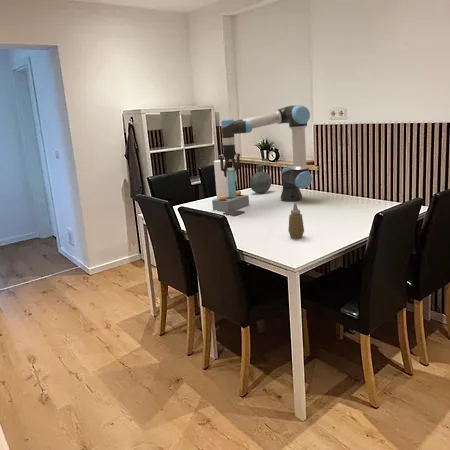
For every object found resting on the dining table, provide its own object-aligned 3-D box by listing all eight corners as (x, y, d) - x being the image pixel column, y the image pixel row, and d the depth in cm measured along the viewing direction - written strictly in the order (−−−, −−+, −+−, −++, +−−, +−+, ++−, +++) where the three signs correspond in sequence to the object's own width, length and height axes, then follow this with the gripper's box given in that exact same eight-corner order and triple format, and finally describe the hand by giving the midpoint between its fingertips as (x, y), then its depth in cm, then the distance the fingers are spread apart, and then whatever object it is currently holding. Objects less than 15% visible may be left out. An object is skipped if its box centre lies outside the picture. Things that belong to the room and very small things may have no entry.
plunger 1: (228, 208, 298) (227, 195, 296) (223, 210, 295) (222, 196, 292) (223, 207, 301) (222, 194, 299) (218, 209, 298) (217, 196, 295)
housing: (249, 205, 307) (248, 195, 305) (228, 212, 291) (227, 202, 290) (234, 203, 316) (233, 193, 314) (212, 210, 301) (212, 200, 299)
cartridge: (234, 194, 287) (233, 167, 282) (237, 196, 282) (235, 168, 277) (227, 195, 285) (225, 168, 281) (229, 197, 280) (227, 169, 276)
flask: (250, 192, 349) (248, 165, 343) (271, 191, 349) (270, 163, 343) (251, 195, 338) (249, 167, 332) (273, 193, 337) (271, 165, 332)
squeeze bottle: (287, 235, 231) (285, 202, 226) (302, 234, 232) (301, 201, 227) (290, 240, 223) (289, 205, 219) (306, 238, 224) (305, 204, 219)
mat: (244, 212, 287) (244, 211, 287) (234, 216, 280) (234, 214, 280) (233, 211, 294) (233, 209, 293) (223, 214, 287) (223, 213, 286)
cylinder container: (228, 201, 324) (225, 160, 316) (215, 201, 326) (212, 161, 318) (230, 198, 333) (227, 158, 325) (218, 199, 335) (215, 159, 327)
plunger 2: (243, 203, 309) (242, 190, 307) (239, 204, 306) (238, 192, 304) (238, 202, 312) (237, 190, 310) (234, 204, 309) (233, 191, 307)
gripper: (216, 146, 269) (219, 183, 275) (244, 143, 274) (246, 180, 280) (213, 145, 276) (216, 182, 282) (240, 142, 281) (242, 178, 287)
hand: (231, 181), depth 281 cm, fingers closed on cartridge, 5 cm apart
